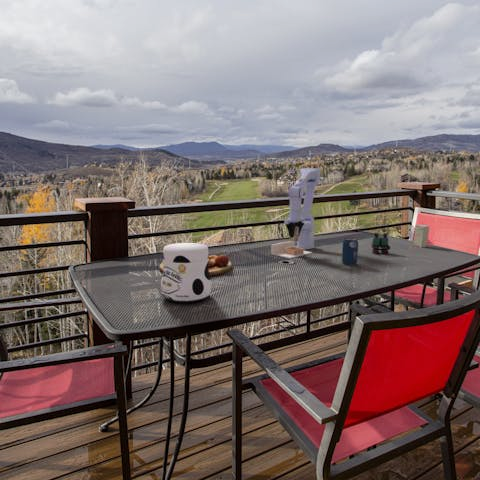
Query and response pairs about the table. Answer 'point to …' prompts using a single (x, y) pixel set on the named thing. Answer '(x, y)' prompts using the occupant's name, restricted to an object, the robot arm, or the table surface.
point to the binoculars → (380, 244)
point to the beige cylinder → (295, 234)
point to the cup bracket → (288, 250)
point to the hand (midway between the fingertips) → (294, 236)
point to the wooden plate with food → (215, 264)
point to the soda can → (350, 251)
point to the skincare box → (421, 235)
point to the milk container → (185, 272)
